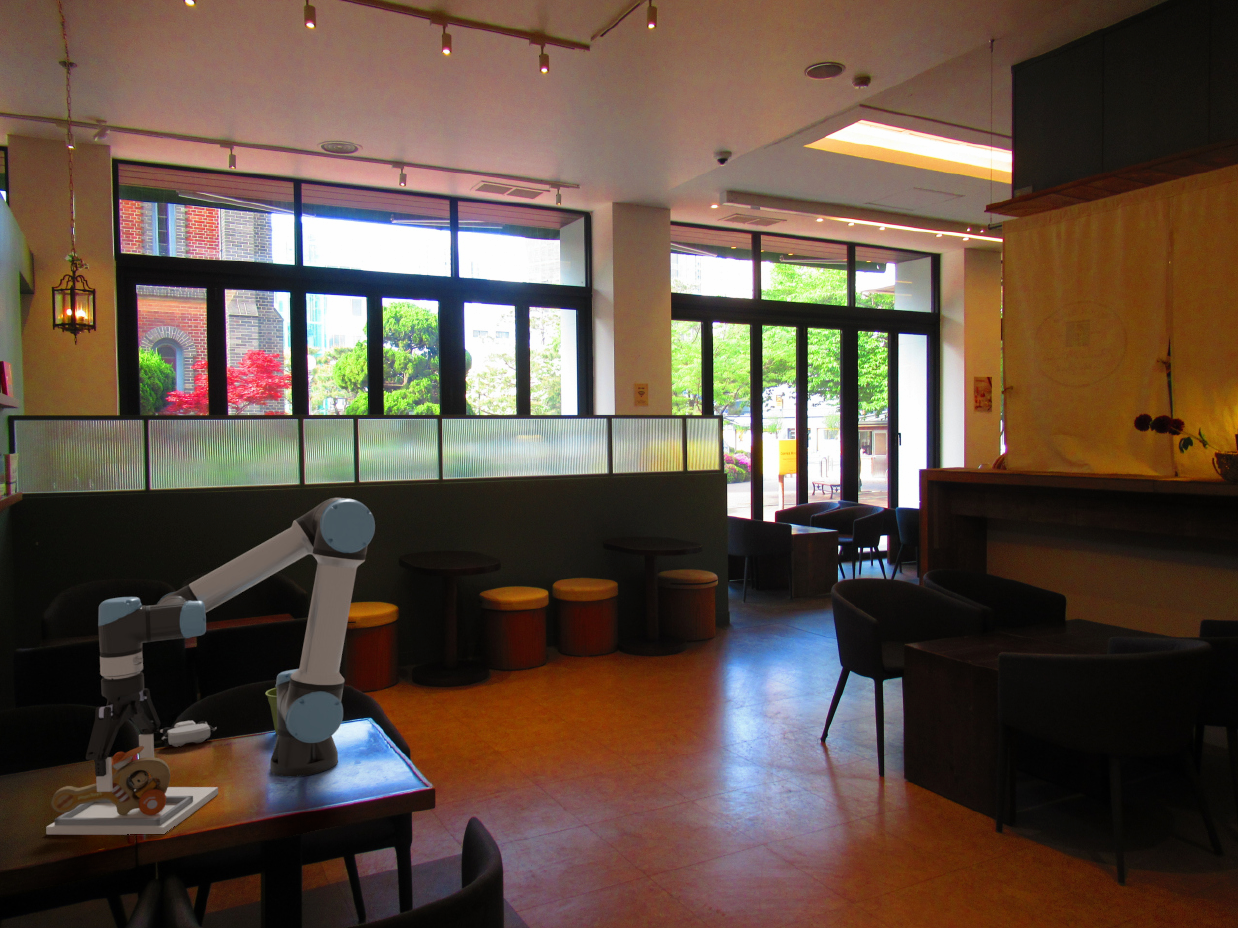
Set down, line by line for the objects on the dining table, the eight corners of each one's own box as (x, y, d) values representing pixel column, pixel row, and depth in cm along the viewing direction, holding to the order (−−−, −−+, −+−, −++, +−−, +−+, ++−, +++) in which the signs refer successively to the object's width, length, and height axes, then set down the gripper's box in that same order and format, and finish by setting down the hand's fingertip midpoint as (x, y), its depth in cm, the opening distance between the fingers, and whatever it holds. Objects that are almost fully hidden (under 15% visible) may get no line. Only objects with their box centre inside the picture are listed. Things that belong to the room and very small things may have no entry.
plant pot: (322, 728, 229) (321, 686, 229) (287, 741, 219) (286, 698, 219) (292, 722, 235) (291, 682, 235) (256, 735, 224) (255, 693, 224)
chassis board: (218, 793, 185) (217, 780, 185) (164, 834, 165) (163, 819, 165) (112, 793, 186) (112, 780, 186) (46, 834, 166) (46, 819, 166)
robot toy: (157, 741, 224) (164, 752, 212) (157, 724, 224) (163, 734, 212) (208, 732, 231) (217, 742, 219) (207, 715, 231) (216, 725, 219)
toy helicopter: (173, 810, 171) (163, 748, 169) (53, 840, 163) (41, 775, 161) (175, 790, 179) (166, 731, 176) (60, 818, 170) (49, 756, 168)
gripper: (99, 691, 159) (103, 802, 159) (175, 658, 184) (179, 754, 184) (61, 692, 160) (65, 803, 160) (142, 659, 184) (146, 755, 185)
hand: (126, 777), depth 172 cm, fingers open, 13 cm apart
